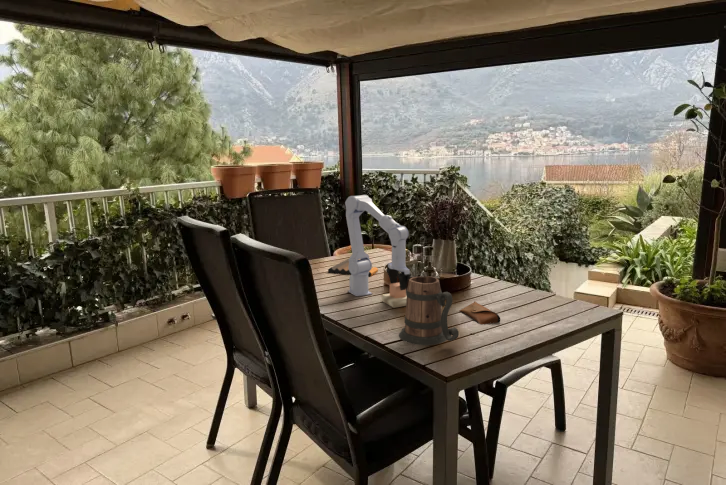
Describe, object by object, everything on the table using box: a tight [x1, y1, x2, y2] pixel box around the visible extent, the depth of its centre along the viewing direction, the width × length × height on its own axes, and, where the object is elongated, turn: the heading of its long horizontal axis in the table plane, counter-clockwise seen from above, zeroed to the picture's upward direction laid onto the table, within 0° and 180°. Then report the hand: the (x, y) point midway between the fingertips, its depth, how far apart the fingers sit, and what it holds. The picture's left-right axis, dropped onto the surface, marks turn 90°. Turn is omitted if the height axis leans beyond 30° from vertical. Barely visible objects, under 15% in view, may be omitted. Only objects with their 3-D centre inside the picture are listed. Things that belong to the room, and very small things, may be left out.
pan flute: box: [327, 258, 379, 277], centre depth 266 cm, size 25×3×25 cm
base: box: [381, 292, 407, 309], centre depth 205 cm, size 10×10×3 cm
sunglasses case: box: [458, 300, 501, 325], centre depth 187 cm, size 18×7×7 cm
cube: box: [389, 282, 407, 298], centre depth 204 cm, size 5×5×5 cm
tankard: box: [398, 276, 460, 346], centre depth 163 cm, size 24×17×20 cm
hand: (398, 287), depth 204 cm, fingers open, 7 cm apart
